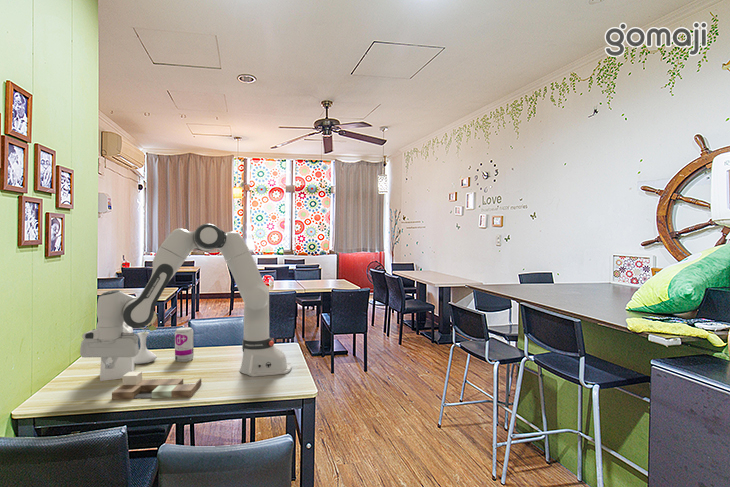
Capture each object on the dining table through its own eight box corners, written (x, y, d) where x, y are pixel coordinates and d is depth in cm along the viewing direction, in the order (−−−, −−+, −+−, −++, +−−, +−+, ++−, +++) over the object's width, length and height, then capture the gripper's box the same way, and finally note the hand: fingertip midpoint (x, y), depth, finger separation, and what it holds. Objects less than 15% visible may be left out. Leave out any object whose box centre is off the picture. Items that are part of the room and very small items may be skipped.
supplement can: (187, 362, 197) (187, 330, 197) (171, 361, 198) (171, 330, 198) (196, 357, 205) (196, 327, 205) (181, 356, 207) (181, 326, 206)
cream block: (142, 380, 166) (142, 371, 166) (136, 384, 161) (136, 375, 161) (128, 380, 165) (128, 371, 165) (122, 385, 160) (122, 376, 160)
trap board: (201, 384, 169) (201, 378, 169) (191, 397, 156) (191, 390, 156) (128, 386, 166) (128, 379, 166) (111, 399, 153) (111, 392, 153)
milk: (104, 372, 183) (104, 312, 183) (134, 368, 188) (134, 311, 187) (99, 381, 172) (99, 318, 172) (131, 377, 177) (131, 315, 176)
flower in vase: (123, 365, 193) (123, 311, 192) (141, 358, 204) (140, 306, 204) (148, 367, 191) (148, 312, 190) (165, 359, 202) (164, 307, 201)
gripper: (141, 330, 166) (141, 365, 166) (87, 330, 164) (87, 365, 164) (134, 334, 160) (134, 370, 160) (77, 334, 158) (77, 371, 158)
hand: (109, 368), depth 162 cm, fingers closed
